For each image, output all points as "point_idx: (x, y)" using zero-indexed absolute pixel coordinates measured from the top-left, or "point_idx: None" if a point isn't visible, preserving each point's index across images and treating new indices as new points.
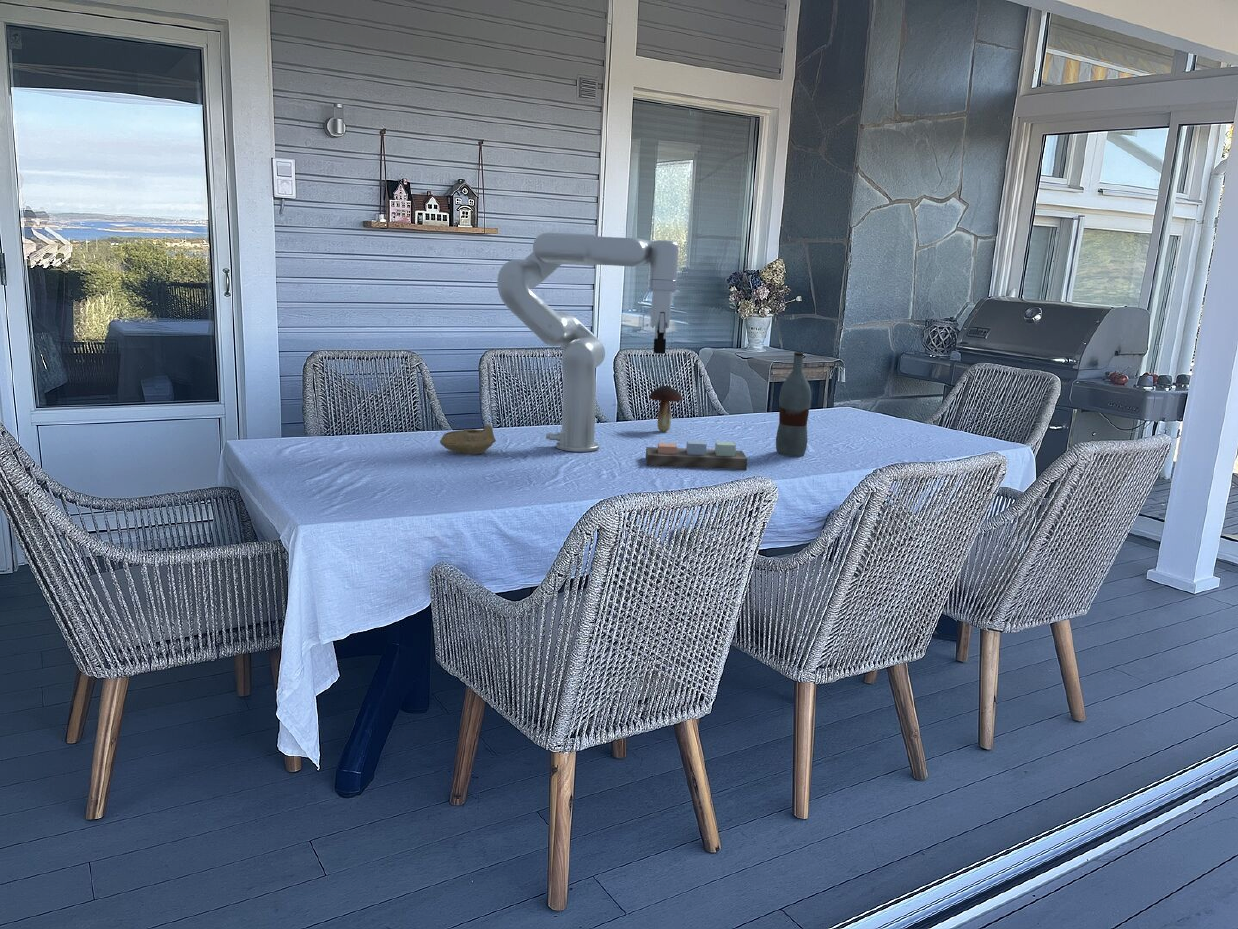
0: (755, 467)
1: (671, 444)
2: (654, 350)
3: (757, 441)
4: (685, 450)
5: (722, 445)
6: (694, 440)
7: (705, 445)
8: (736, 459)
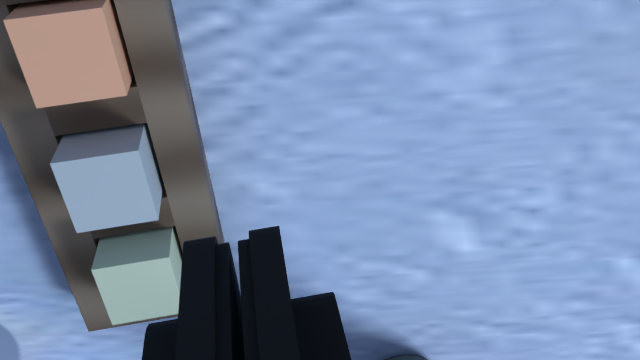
0: (149, 321)
1: (87, 78)
2: (181, 271)
3: (576, 299)
4: (148, 124)
5: (97, 284)
6: (144, 181)
7: (76, 226)
8: (77, 300)
